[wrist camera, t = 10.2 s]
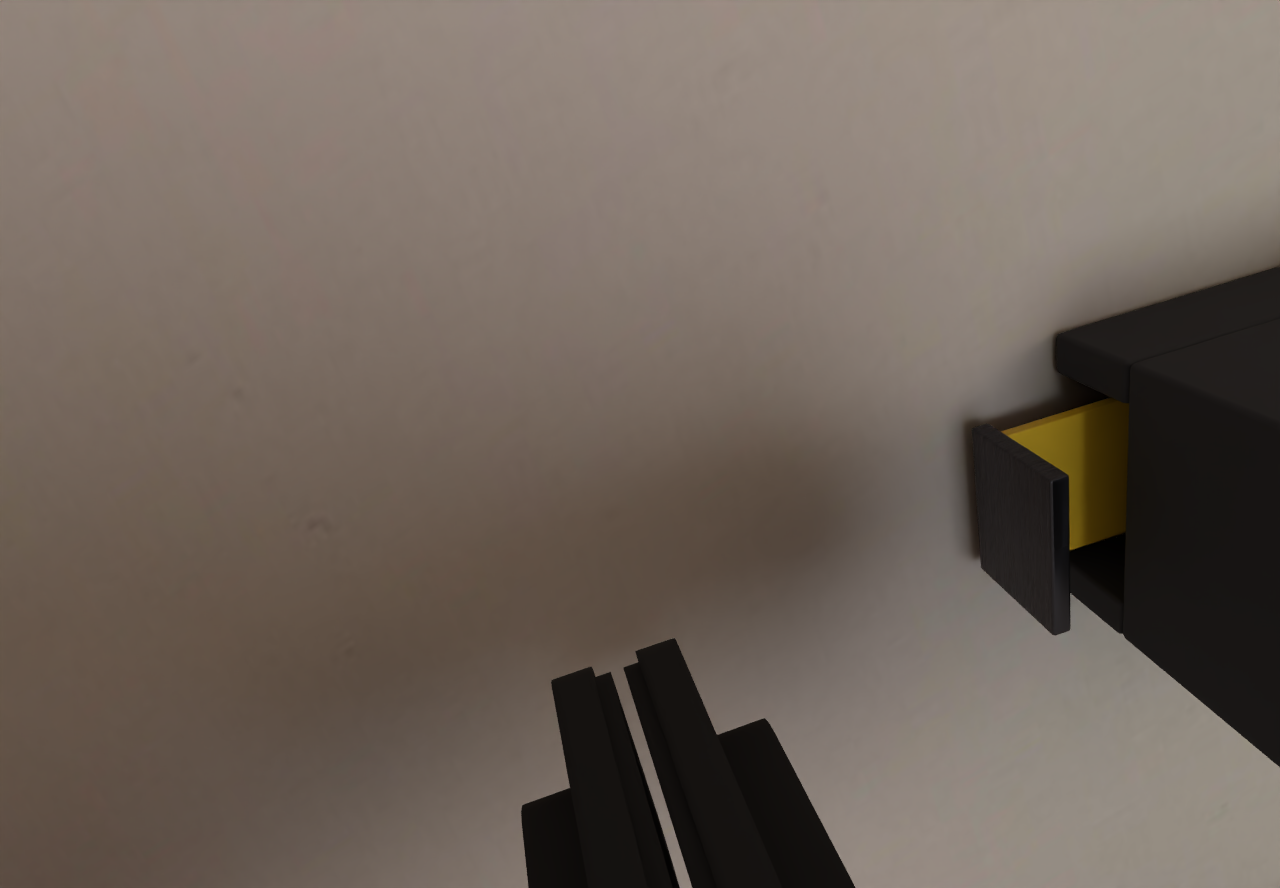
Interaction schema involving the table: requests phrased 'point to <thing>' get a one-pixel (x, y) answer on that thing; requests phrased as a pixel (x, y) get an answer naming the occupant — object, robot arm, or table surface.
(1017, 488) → the tape blade
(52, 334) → the table surface
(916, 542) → the table surface
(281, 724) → the table surface
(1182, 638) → the tape case
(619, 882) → the robot arm
